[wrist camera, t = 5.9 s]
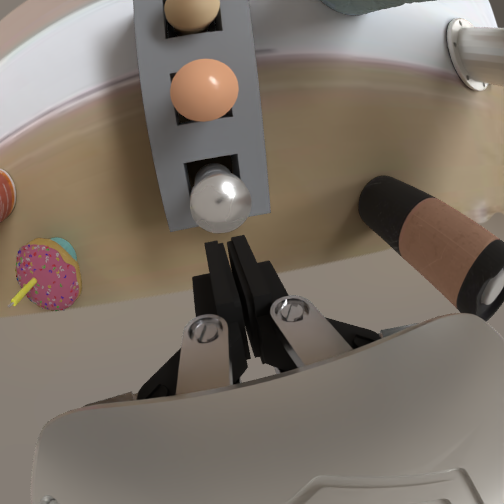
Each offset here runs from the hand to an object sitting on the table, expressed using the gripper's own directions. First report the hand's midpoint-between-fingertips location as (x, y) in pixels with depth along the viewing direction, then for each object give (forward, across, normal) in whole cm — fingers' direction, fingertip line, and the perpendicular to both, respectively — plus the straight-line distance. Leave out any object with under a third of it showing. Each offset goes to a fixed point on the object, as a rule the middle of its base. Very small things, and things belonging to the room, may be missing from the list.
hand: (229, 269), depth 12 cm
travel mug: (+17, -21, +6) cm, 28 cm away
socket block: (+17, -1, -8) cm, 19 cm away
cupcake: (+18, +19, +5) cm, 26 cm away
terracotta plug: (+13, -1, -8) cm, 15 cm away
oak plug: (+16, -1, -15) cm, 23 cm away
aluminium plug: (+13, -1, 0) cm, 13 cm away
